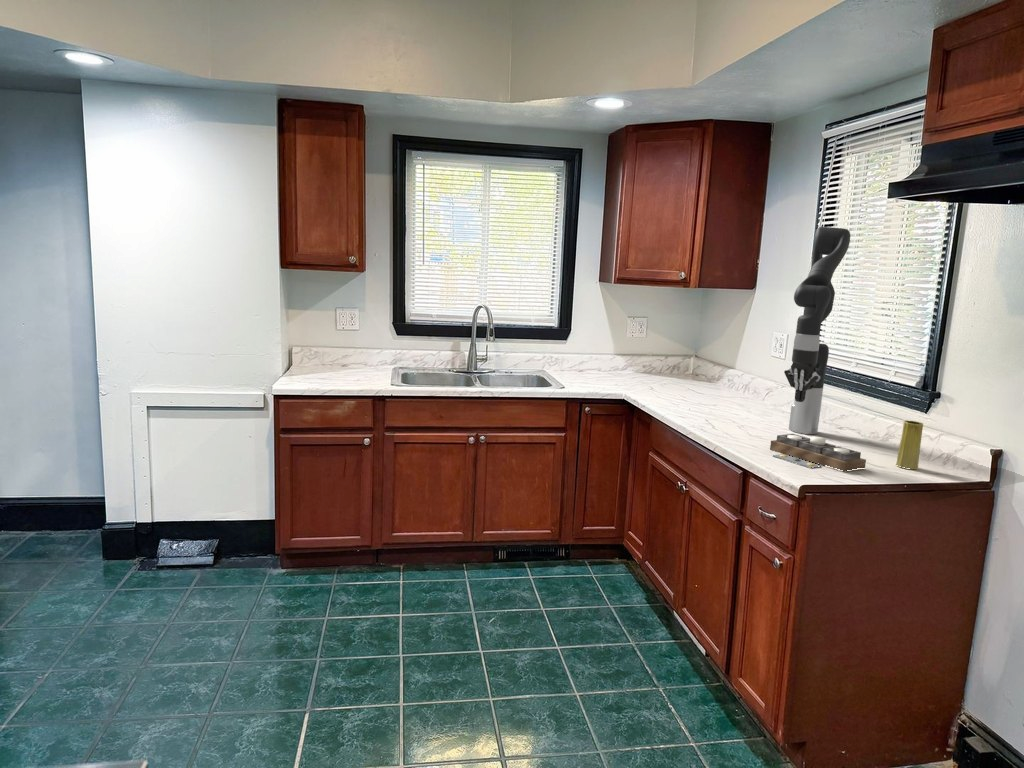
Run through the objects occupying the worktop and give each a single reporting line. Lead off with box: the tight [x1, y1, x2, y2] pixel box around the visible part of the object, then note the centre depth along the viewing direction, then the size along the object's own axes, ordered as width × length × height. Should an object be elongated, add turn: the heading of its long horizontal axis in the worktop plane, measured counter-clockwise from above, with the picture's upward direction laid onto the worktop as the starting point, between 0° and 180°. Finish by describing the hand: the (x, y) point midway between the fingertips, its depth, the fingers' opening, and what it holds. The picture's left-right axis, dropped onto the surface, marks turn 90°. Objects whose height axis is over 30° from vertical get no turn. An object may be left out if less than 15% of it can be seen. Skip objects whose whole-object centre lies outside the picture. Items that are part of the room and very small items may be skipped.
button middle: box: [809, 435, 827, 446], centre depth 217 cm, size 4×4×2 cm
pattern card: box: [772, 453, 822, 468], centre depth 214 cm, size 14×5×1 cm, turn 30°
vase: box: [895, 420, 924, 470], centre depth 213 cm, size 6×6×14 cm
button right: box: [834, 447, 851, 453], centre depth 210 cm, size 4×4×2 cm
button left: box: [787, 434, 802, 440], centre depth 225 cm, size 4×4×2 cm
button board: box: [769, 433, 867, 471], centre depth 218 cm, size 27×10×5 cm, turn 30°
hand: (799, 401), depth 223 cm, fingers closed
